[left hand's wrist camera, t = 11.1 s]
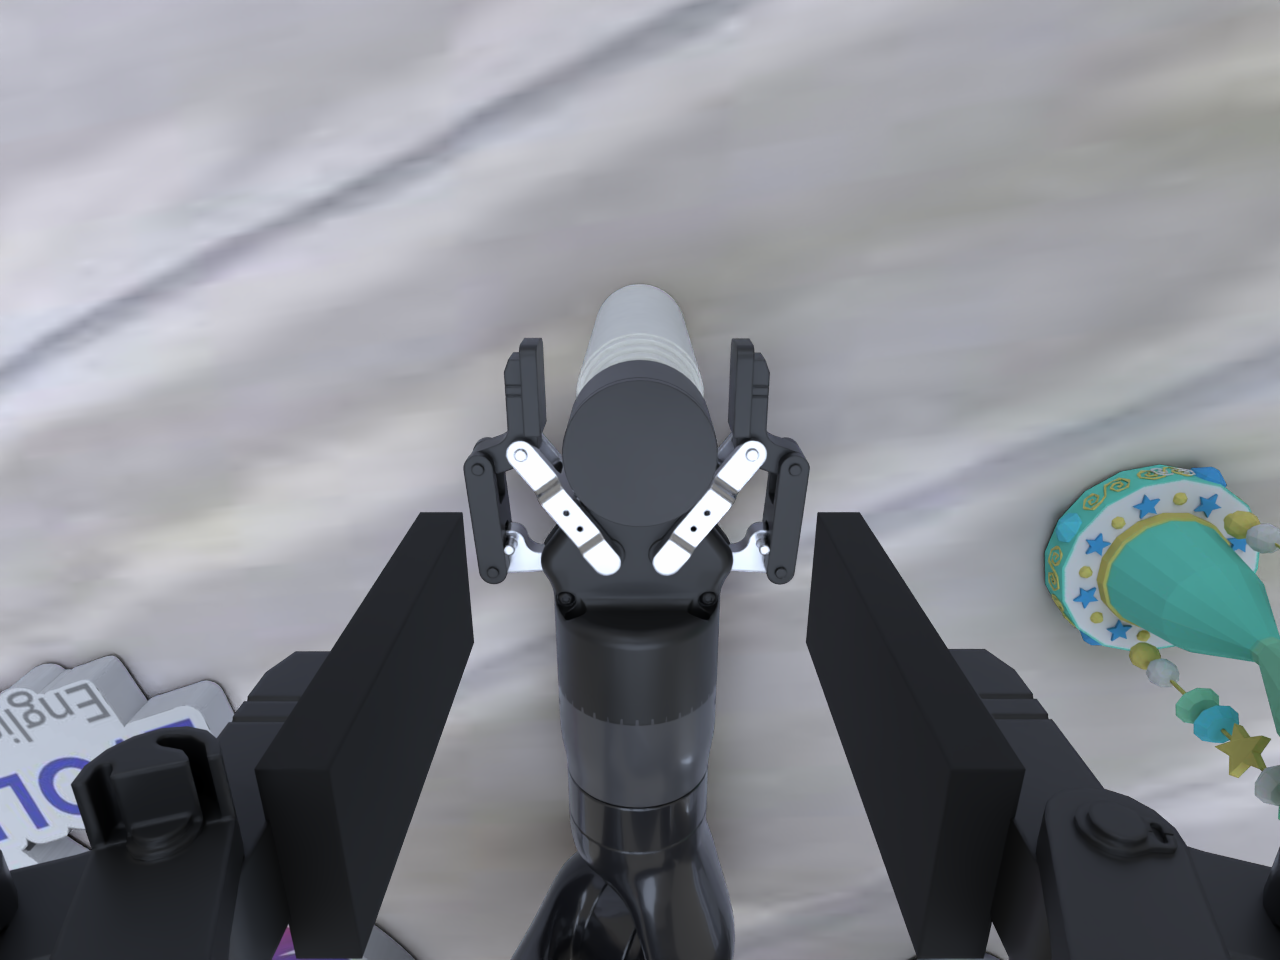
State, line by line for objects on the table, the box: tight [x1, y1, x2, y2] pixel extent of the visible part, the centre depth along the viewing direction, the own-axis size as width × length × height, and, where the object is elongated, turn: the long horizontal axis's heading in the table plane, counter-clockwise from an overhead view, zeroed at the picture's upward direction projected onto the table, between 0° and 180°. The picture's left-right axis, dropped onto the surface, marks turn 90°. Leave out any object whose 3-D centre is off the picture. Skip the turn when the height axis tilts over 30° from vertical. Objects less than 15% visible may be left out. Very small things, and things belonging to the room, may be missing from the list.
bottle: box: [576, 284, 704, 398], centre depth 30 cm, size 4×4×18 cm
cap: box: [562, 360, 718, 527], centre depth 22 cm, size 4×4×2 cm
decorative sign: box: [0, 656, 415, 960], centre depth 49 cm, size 34×2×30 cm
